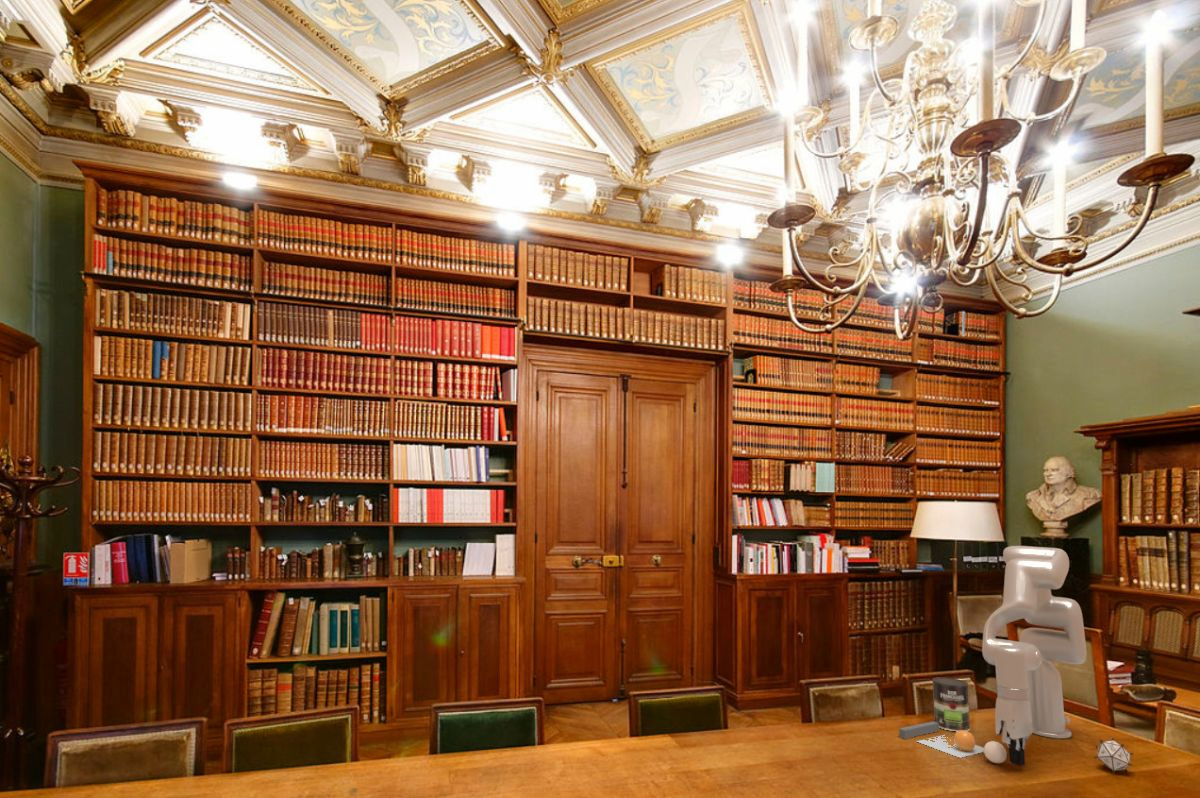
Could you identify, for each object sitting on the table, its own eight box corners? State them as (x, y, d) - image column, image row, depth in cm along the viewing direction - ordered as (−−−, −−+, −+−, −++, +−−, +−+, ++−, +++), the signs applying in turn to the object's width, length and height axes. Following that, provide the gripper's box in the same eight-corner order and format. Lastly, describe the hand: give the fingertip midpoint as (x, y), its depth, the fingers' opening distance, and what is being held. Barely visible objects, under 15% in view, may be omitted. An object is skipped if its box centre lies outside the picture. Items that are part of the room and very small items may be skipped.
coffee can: (972, 734, 208) (970, 687, 210) (936, 729, 212) (933, 683, 214) (968, 724, 218) (965, 679, 220) (933, 720, 221) (930, 675, 223)
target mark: (945, 735, 207) (945, 734, 207) (990, 750, 195) (990, 749, 195) (916, 742, 201) (916, 741, 201) (959, 758, 188) (959, 757, 188)
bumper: (933, 729, 212) (932, 721, 212) (939, 731, 210) (938, 723, 211) (899, 737, 205) (899, 728, 205) (905, 739, 203) (904, 730, 203)
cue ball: (1013, 748, 185) (1006, 765, 186) (993, 735, 189) (987, 751, 190) (1003, 752, 182) (997, 770, 183) (983, 739, 186) (977, 756, 187)
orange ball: (979, 753, 193) (961, 745, 198) (979, 733, 194) (962, 726, 199) (967, 755, 191) (949, 747, 196) (967, 735, 191) (950, 728, 196)
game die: (1125, 788, 180) (1146, 765, 175) (1091, 773, 182) (1111, 749, 177) (1115, 760, 187) (1135, 738, 183) (1082, 746, 190) (1101, 723, 185)
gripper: (1015, 686, 191) (1019, 754, 188) (982, 692, 184) (987, 763, 181) (1042, 693, 184) (1047, 764, 182) (1010, 699, 177) (1015, 773, 175)
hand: (1017, 763), depth 181 cm, fingers closed
